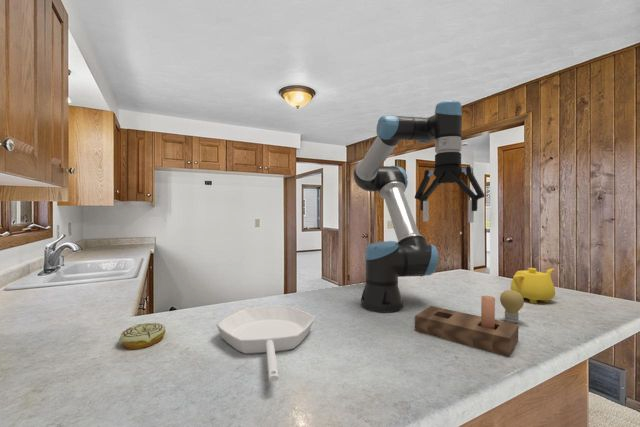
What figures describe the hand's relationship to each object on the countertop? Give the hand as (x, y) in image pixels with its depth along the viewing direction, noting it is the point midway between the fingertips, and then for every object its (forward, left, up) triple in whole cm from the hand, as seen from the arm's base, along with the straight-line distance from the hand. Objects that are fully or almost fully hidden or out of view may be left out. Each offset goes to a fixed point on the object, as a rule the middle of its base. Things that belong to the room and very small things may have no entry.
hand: (447, 221), depth 95 cm
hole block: (+7, -6, -32) cm, 33 cm away
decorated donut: (-57, -67, -32) cm, 94 cm away
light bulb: (+15, +15, -32) cm, 38 cm away
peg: (+13, -6, -32) cm, 35 cm away
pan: (-28, -47, -32) cm, 64 cm away
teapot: (+17, +49, -32) cm, 61 cm away
